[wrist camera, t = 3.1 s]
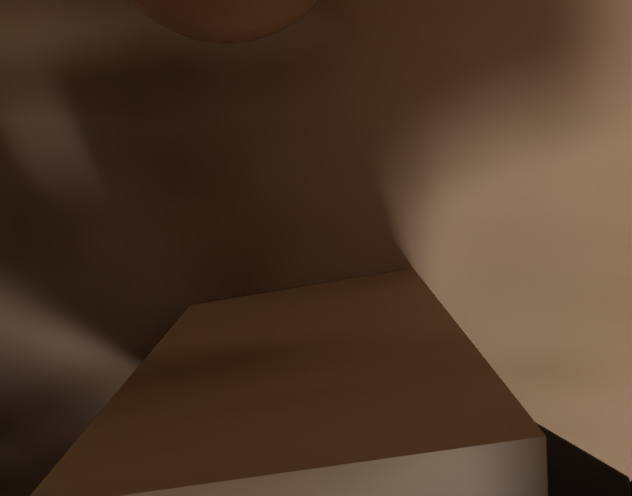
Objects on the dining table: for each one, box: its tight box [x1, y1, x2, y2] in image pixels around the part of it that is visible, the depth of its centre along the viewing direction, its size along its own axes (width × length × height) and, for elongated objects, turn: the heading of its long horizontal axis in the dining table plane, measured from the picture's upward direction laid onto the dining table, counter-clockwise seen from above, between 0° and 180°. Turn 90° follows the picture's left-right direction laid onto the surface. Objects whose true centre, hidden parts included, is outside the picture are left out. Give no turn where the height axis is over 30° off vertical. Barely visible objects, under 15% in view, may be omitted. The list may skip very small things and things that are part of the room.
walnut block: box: [30, 268, 548, 496], centre depth 7 cm, size 5×5×5 cm
